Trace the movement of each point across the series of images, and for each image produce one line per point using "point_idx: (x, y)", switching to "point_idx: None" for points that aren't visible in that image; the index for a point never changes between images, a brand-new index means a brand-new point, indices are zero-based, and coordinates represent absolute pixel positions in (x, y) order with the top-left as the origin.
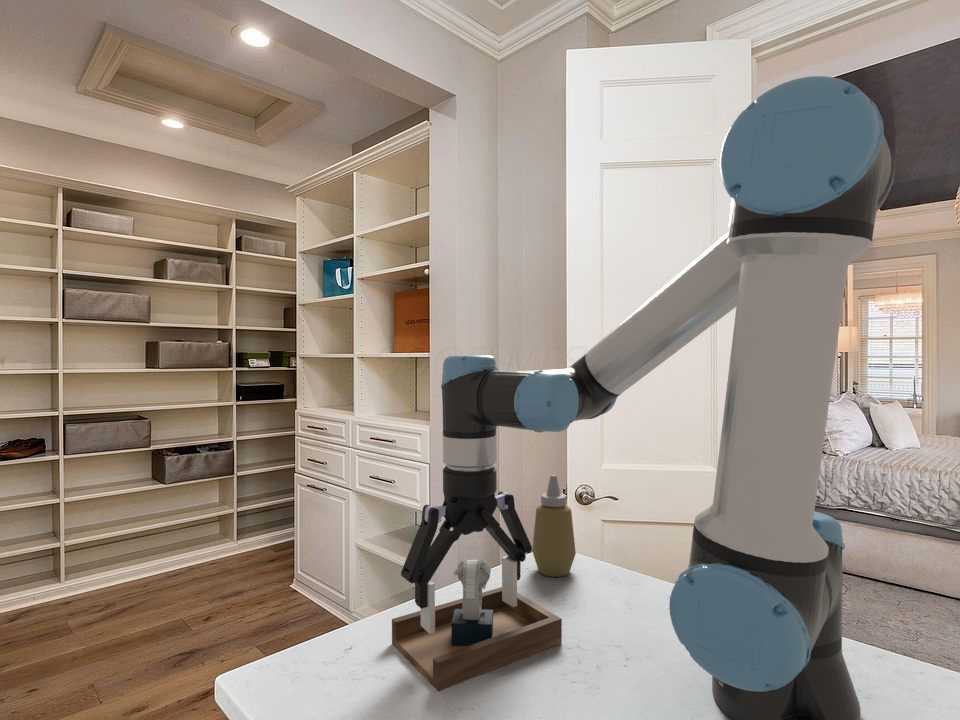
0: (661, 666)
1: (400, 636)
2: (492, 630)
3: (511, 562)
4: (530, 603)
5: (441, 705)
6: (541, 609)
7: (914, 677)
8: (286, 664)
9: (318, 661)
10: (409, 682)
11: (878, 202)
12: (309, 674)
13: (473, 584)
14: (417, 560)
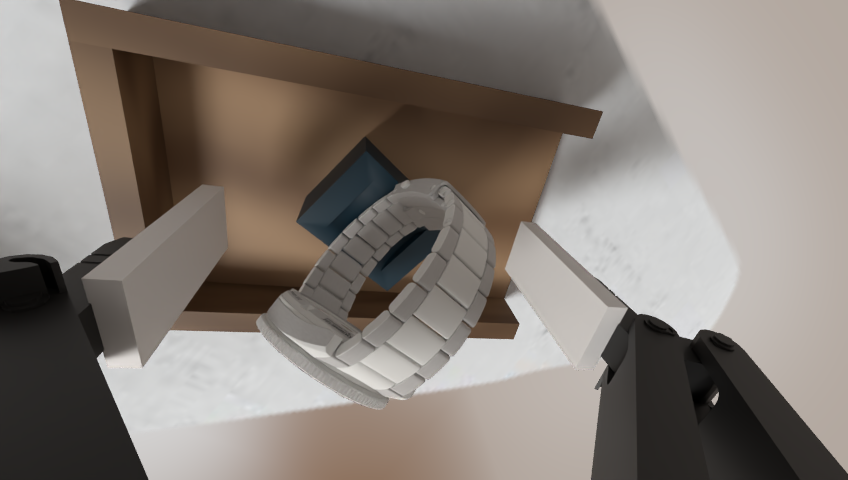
0: None
1: (494, 300)
2: (328, 178)
3: (125, 291)
4: (122, 188)
5: (596, 53)
6: (105, 125)
7: None
8: None
9: None
10: (570, 173)
11: None
12: (639, 300)
13: (466, 230)
14: (786, 411)
